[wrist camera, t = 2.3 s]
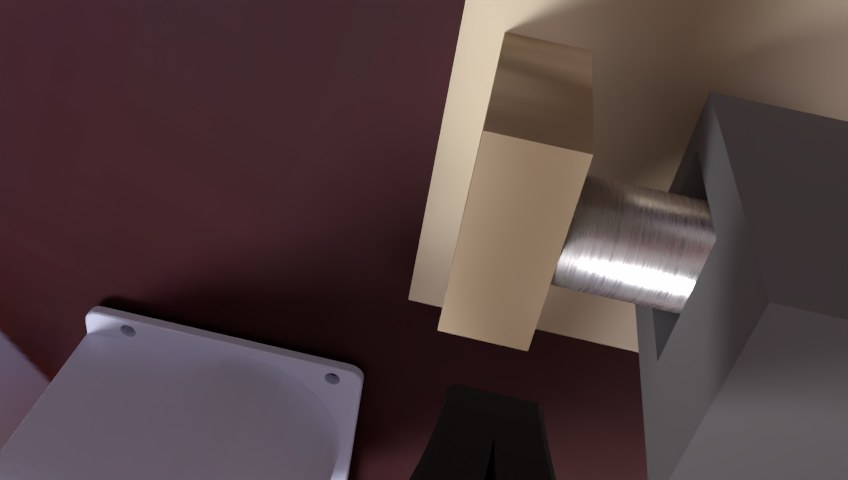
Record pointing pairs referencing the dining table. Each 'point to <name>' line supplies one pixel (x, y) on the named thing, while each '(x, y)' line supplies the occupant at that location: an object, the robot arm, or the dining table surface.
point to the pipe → (635, 244)
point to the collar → (756, 306)
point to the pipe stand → (590, 137)
